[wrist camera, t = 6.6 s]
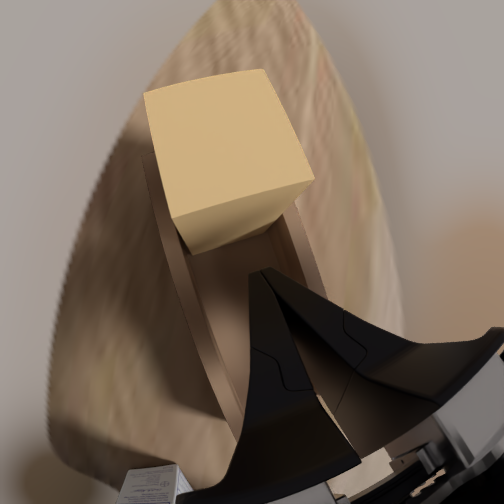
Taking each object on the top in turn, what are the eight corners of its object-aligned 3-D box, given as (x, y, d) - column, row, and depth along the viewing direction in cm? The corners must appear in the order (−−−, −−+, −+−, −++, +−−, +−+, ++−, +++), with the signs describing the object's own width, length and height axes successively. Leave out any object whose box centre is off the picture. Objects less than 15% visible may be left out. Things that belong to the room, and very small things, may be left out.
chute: (327, 387, 17) (358, 411, 13) (237, 423, 16) (245, 459, 12) (251, 159, 19) (263, 124, 14) (156, 186, 17) (141, 155, 13)
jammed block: (263, 233, 17) (315, 179, 8) (192, 255, 16) (171, 218, 8) (238, 163, 18) (262, 68, 9) (171, 181, 17) (143, 93, 8)
